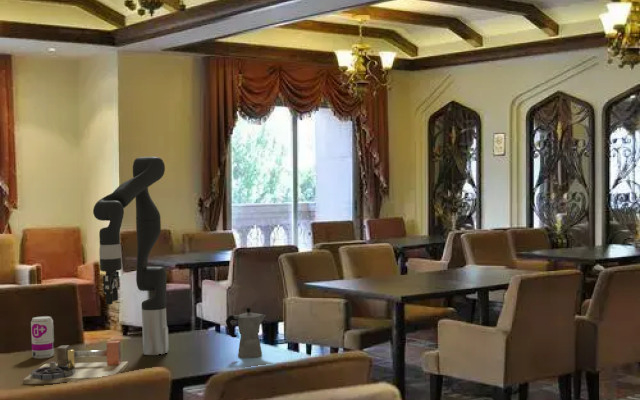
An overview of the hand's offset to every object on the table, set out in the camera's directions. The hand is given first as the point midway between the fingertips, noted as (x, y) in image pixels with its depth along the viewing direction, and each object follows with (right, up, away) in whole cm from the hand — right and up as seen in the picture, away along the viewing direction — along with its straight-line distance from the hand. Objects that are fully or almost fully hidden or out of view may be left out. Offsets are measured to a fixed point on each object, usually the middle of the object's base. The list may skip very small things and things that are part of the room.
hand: (112, 302), depth 315 cm
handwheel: (-17, -23, -13) cm, 31 cm away
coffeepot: (+47, -22, +16) cm, 54 cm away
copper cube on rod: (-6, -22, +1) cm, 23 cm away
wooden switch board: (-10, -24, -7) cm, 27 cm away
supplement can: (-32, -24, +26) cm, 48 cm away
